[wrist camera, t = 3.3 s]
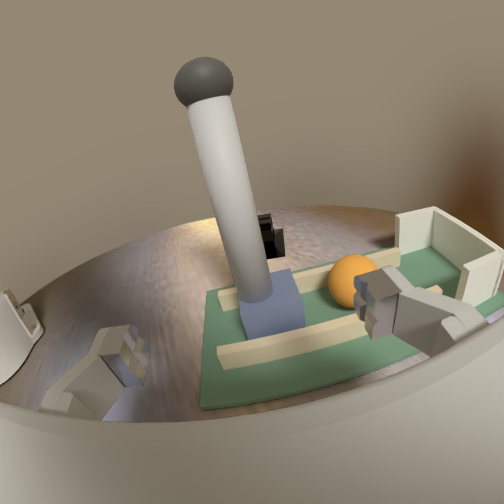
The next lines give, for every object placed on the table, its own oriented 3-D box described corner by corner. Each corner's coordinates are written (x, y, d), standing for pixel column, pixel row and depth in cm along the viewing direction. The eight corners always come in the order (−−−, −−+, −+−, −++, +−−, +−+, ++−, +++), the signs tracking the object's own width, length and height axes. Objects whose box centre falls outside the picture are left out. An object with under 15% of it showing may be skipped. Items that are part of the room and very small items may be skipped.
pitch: (201, 410, 18) (199, 407, 18) (208, 294, 33) (207, 291, 32) (507, 303, 18) (508, 299, 17) (430, 238, 32) (430, 235, 32)
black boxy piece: (291, 264, 36) (286, 233, 33) (237, 272, 37) (229, 242, 35) (287, 226, 46) (283, 201, 44) (246, 233, 48) (240, 209, 46)
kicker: (244, 345, 23) (161, 59, 12) (240, 309, 27) (175, 73, 17) (306, 330, 23) (251, 37, 12) (294, 297, 27) (245, 56, 17)
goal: (224, 389, 19) (203, 348, 17) (223, 294, 31) (210, 257, 29) (495, 294, 19) (507, 252, 17) (431, 241, 30) (434, 206, 28)
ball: (319, 309, 25) (315, 266, 23) (344, 282, 28) (342, 240, 26) (365, 326, 22) (368, 280, 19) (386, 294, 25) (389, 250, 22)
